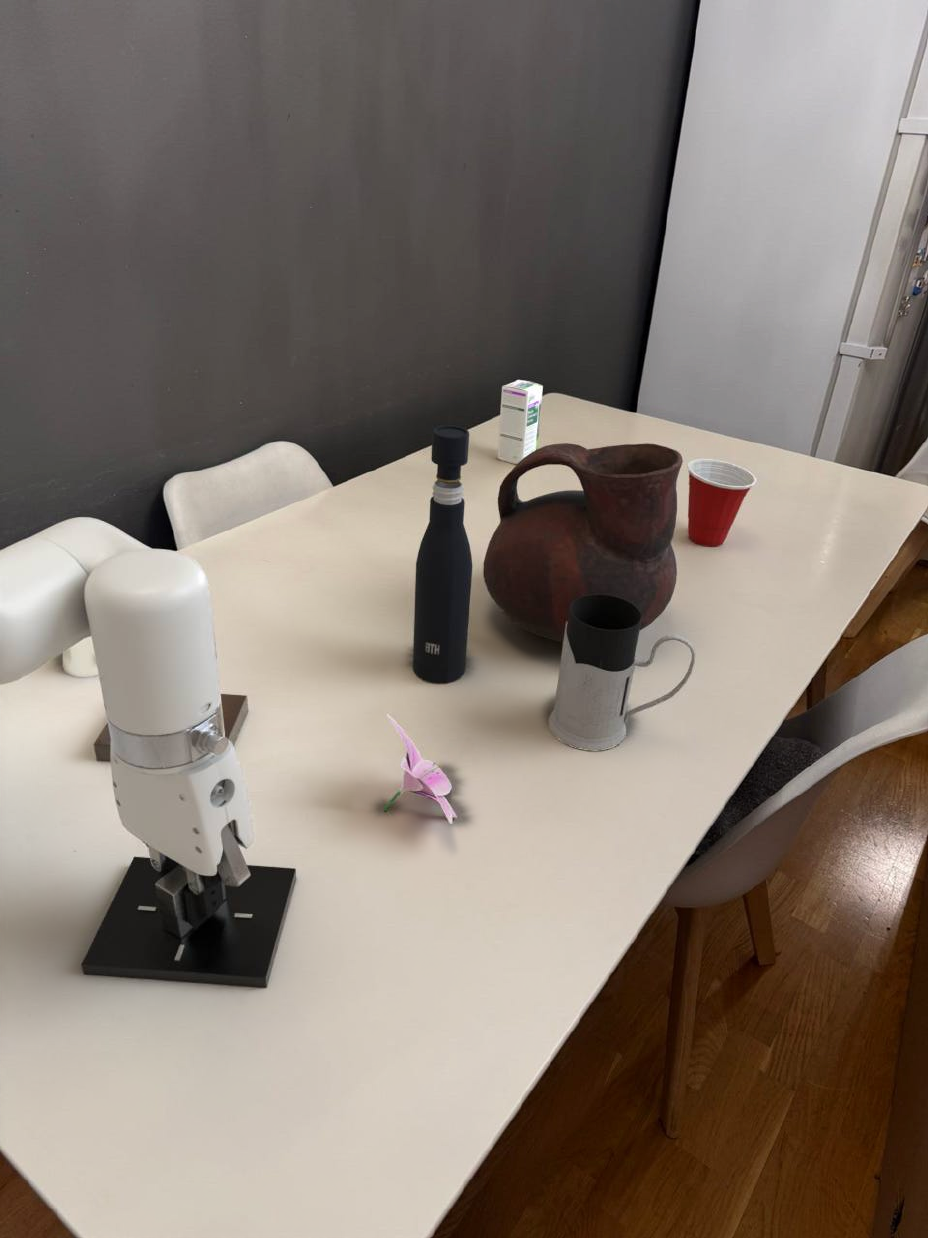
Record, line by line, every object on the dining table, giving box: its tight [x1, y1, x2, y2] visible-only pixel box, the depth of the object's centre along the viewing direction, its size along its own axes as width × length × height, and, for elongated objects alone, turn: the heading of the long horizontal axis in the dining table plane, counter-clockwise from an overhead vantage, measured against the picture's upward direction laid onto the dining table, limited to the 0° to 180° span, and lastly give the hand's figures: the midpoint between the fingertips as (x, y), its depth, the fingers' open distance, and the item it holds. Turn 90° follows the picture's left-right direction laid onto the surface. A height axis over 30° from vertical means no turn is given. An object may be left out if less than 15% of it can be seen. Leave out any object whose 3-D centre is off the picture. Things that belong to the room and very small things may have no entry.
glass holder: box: [548, 594, 696, 751], centre depth 95 cm, size 9×14×15 cm, turn 73°
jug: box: [482, 442, 684, 644], centre depth 113 cm, size 25×25×25 cm
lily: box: [382, 712, 458, 824], centre depth 84 cm, size 12×12×10 cm
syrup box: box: [497, 379, 544, 465], centre depth 167 cm, size 6×6×14 cm
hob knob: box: [155, 864, 226, 939], centre depth 70 cm, size 5×2×5 cm, turn 148°
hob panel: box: [80, 856, 297, 989], centre depth 72 cm, size 14×11×3 cm
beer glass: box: [62, 637, 99, 678], centre depth 100 cm, size 7×7×15 cm
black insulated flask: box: [412, 425, 473, 685], centre depth 100 cm, size 6×6×30 cm
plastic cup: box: [687, 458, 758, 547], centre depth 141 cm, size 11×11×12 cm
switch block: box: [93, 693, 249, 763], centre depth 93 cm, size 13×10×4 cm
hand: (194, 905), depth 71 cm, fingers closed on hob knob, 2 cm apart
